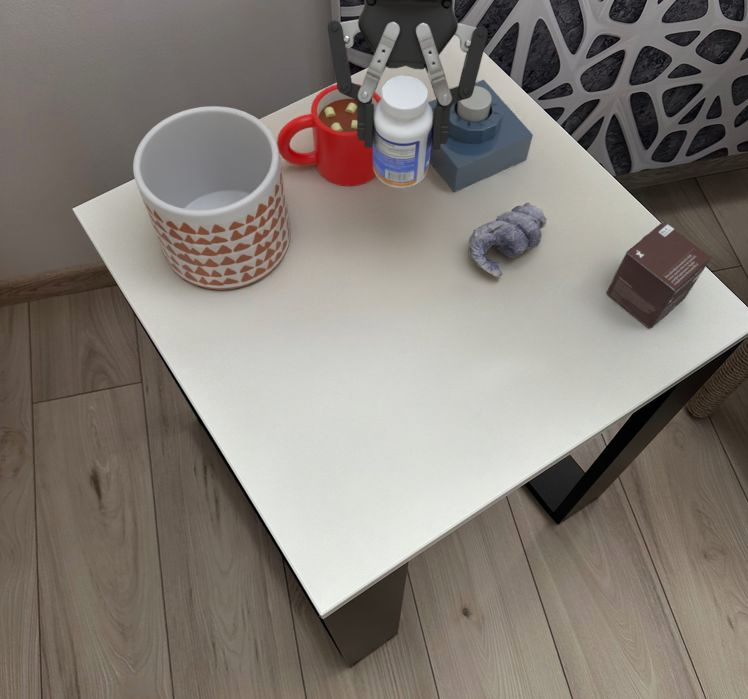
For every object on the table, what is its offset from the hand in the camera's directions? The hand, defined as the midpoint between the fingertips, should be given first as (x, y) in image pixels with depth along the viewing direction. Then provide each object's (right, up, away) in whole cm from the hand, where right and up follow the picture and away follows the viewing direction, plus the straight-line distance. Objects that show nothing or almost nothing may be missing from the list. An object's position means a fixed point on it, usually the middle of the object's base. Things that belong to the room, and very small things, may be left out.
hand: (402, 148), depth 69 cm
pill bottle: (0, -1, +5) cm, 5 cm away
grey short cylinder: (+8, +8, +16) cm, 20 cm away
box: (+26, -13, +12) cm, 31 cm away
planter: (-18, -6, +15) cm, 24 cm away
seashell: (+12, -7, +14) cm, 20 cm away
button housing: (+8, +6, +21) cm, 24 cm away
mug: (-7, +3, +20) cm, 22 cm away
